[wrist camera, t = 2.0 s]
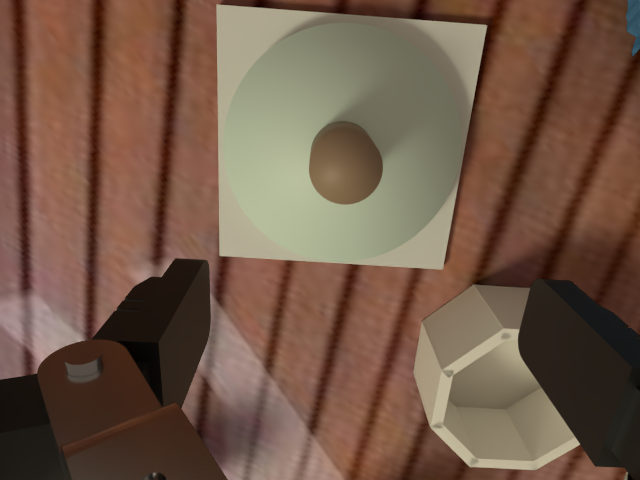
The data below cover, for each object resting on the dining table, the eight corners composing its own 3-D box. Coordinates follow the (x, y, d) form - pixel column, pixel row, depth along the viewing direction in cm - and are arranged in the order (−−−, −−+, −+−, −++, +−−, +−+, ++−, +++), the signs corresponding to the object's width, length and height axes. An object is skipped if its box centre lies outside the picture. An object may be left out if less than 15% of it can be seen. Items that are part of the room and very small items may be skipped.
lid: (477, 33, 27) (513, 26, 22) (437, 262, 33) (459, 299, 28) (225, 14, 27) (202, 3, 22) (227, 249, 32) (209, 284, 27)
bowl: (580, 290, 34) (632, 335, 29) (543, 412, 38) (581, 472, 33) (428, 281, 34) (450, 325, 28) (407, 405, 38) (422, 464, 32)
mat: (484, 25, 28) (487, 25, 27) (440, 266, 33) (442, 269, 33) (218, 5, 27) (216, 4, 27) (221, 253, 33) (219, 255, 32)
